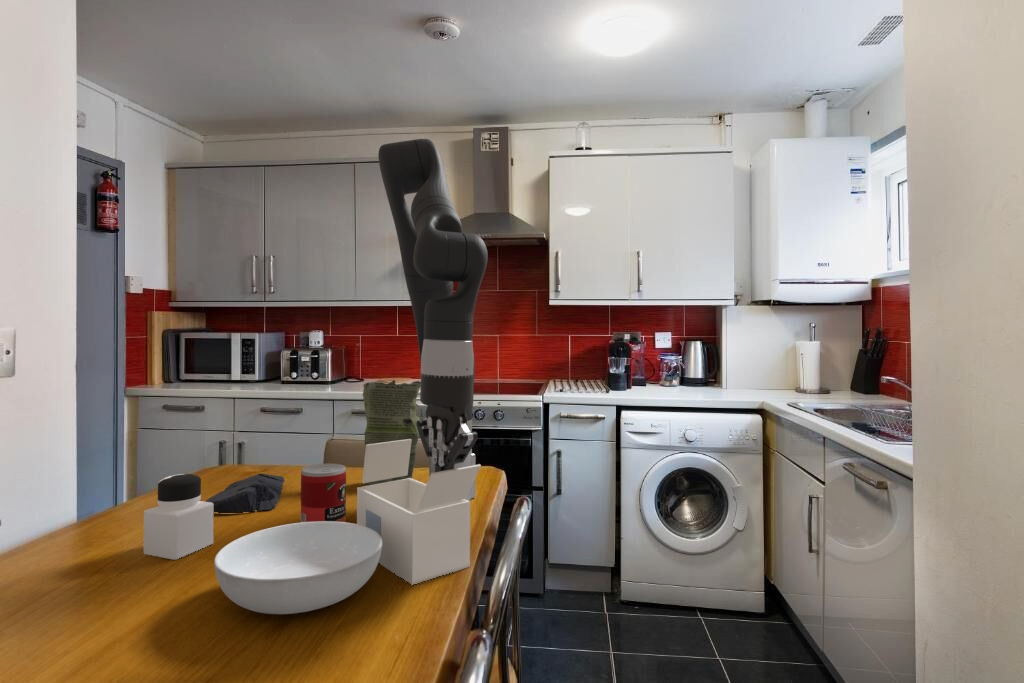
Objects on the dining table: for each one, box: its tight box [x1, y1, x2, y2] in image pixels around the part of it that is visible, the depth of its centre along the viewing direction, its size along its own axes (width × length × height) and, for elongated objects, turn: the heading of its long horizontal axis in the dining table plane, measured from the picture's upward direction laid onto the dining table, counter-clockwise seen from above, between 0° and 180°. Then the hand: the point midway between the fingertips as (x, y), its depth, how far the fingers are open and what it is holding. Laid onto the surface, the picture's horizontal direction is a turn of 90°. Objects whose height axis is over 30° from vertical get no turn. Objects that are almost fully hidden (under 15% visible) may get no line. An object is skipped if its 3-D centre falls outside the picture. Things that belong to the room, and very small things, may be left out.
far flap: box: [361, 439, 412, 484], centre depth 91 cm, size 8×7×1 cm
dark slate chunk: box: [204, 472, 286, 513], centre depth 116 cm, size 15×22×5 cm
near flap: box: [417, 463, 482, 510], centre depth 77 cm, size 8×7×1 cm
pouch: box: [362, 379, 421, 486], centre depth 129 cm, size 11×12×25 cm
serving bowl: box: [213, 521, 382, 615], centre depth 72 cm, size 21×21×7 cm
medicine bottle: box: [143, 473, 215, 561], centre depth 88 cm, size 7×7×12 cm
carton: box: [356, 477, 471, 586], centre depth 85 cm, size 10×18×10 cm, turn 41°
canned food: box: [300, 463, 347, 523], centre depth 98 cm, size 8×8×11 cm
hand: (443, 489), depth 78 cm, fingers closed
